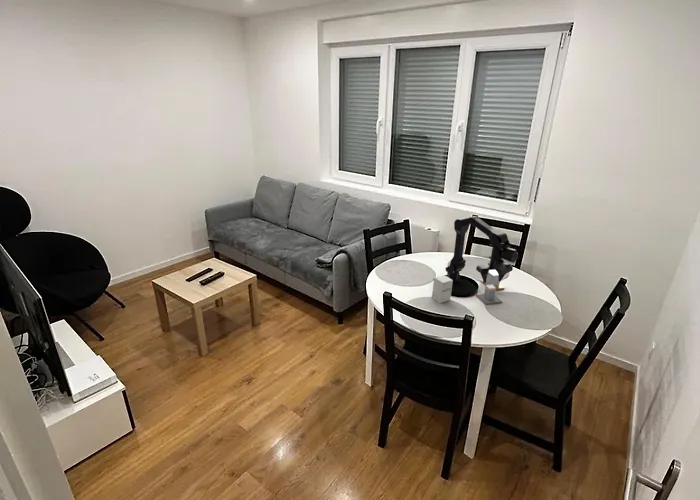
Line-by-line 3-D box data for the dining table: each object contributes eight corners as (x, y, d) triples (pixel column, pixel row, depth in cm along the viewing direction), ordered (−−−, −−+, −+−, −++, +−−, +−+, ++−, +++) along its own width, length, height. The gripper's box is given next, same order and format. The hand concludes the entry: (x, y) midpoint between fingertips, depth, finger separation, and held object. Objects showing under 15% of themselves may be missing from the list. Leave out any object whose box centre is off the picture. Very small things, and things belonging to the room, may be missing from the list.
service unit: (491, 290, 220) (494, 276, 216) (480, 281, 230) (482, 267, 227) (503, 289, 222) (506, 275, 218) (491, 280, 232) (494, 266, 229)
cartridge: (483, 296, 212) (485, 285, 209) (490, 295, 213) (492, 284, 210) (487, 300, 208) (489, 288, 206) (494, 299, 209) (496, 288, 207)
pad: (485, 304, 205) (486, 303, 205) (475, 295, 214) (476, 294, 214) (502, 302, 208) (502, 301, 207) (491, 293, 217) (491, 292, 216)
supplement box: (440, 303, 206) (442, 282, 201) (431, 297, 212) (433, 277, 207) (450, 300, 209) (453, 280, 204) (441, 294, 215) (444, 274, 210)
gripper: (489, 263, 191) (485, 291, 197) (521, 260, 196) (516, 287, 202) (477, 255, 201) (473, 281, 207) (508, 252, 206) (503, 278, 212)
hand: (492, 282), depth 207 cm, fingers open, 9 cm apart
